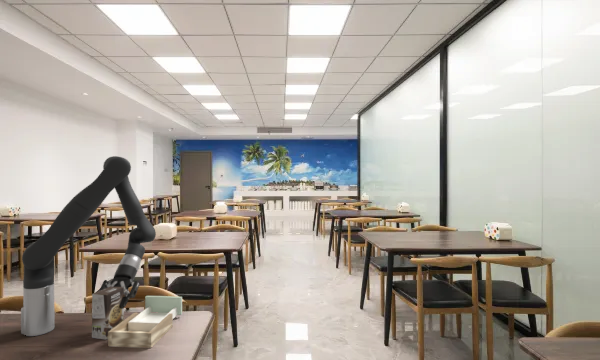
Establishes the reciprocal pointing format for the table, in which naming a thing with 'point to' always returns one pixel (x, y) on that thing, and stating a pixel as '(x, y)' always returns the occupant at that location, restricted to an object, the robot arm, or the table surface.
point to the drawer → (155, 304)
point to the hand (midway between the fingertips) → (111, 307)
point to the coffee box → (106, 311)
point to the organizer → (138, 334)
